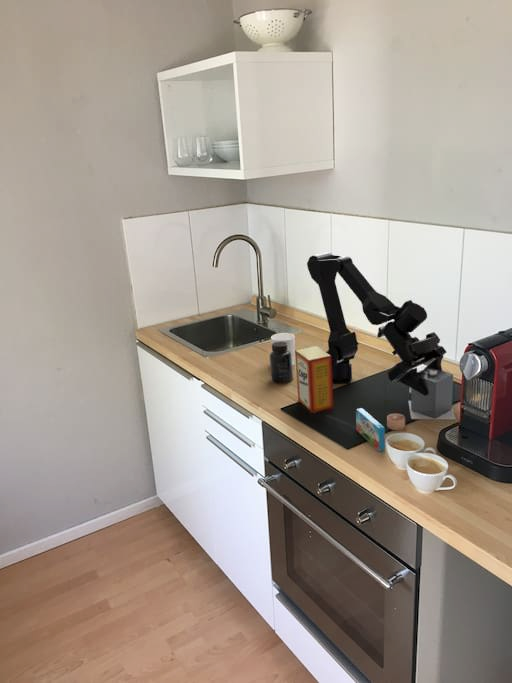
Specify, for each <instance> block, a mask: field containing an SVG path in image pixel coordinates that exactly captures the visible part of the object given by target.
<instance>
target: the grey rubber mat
mask: <svg viewBox="0 0 512 683" xmlns="http://www.w3.org/2000/svg"><path fill="white" fill-rule="evenodd" d="M408 406H409V407H408V408H409V413H410V420H457V418H456V415H455V412H454V409H453V407H452V410H450V411H448V412H447V413H445V414H443V415H441V416H439V417H438V418H436V419H434V418H431V417H428V416H426V415H423V414H420V413H417V412H414V411H412V410H411V400H408Z"/></svg>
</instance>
